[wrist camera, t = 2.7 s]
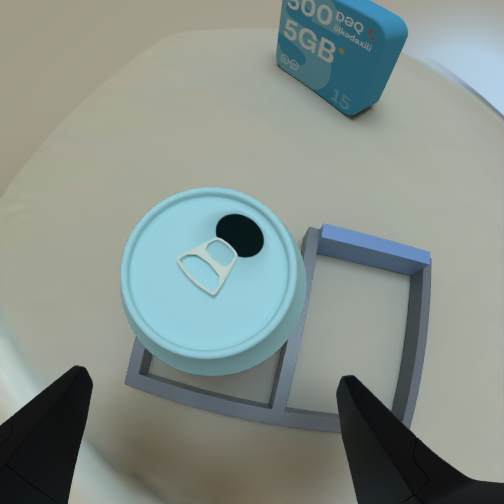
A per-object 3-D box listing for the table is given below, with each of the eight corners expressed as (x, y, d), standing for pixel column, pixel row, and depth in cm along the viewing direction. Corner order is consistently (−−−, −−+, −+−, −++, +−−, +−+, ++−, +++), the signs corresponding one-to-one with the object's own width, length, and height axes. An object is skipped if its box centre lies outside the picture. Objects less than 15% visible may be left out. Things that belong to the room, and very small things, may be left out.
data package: (273, 64, 30) (283, -22, 19) (300, 55, 31) (314, -25, 20) (352, 122, 27) (390, 28, 16) (375, 108, 28) (413, 24, 17)
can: (183, 262, 22) (129, 166, 10) (278, 271, 22) (318, 180, 10) (170, 358, 19) (87, 358, 8) (271, 369, 19) (311, 388, 8)
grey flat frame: (395, 429, 18) (415, 437, 15) (134, 381, 19) (118, 385, 16) (418, 266, 22) (438, 254, 19) (184, 211, 23) (177, 192, 20)
